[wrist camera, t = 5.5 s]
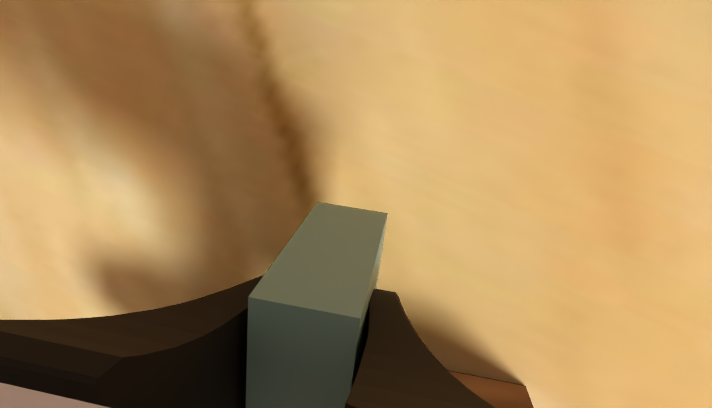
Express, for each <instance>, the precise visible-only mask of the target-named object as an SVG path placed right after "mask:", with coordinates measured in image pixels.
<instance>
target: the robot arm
mask: <svg viewBox="0 0 712 408" xmlns="http://www.w3.org/2000/svg"><path fill="white" fill-rule="evenodd" d="M263 276H264V275H263ZM263 276H260V277H258V278H255V279H253V280H250V281H247V282H245V283H242V284H239V285H237V286H234V287H232V288H229V289H226V290H223V291H220V292H217V293H214V294H211V295H208V296H205V297H202V298H199V299H196V300H192V301H189V302H185V303H181V304H177V305H172V306H168V307H164V308H159V309H154V310H147V311H141V312H134V313H128V314H121V315H114V316H104V317H93V318H79V319H61V320H0V408H246V370H247V328H248V297H249V295H250V294H251V292H252V291H253V290H254V288H255V287H256V286H257V284H258V283H259V281H260V280H261V279H262V277H263ZM345 408H495V407H494V406H492V405H491V404H489V403H488V402H486V401H485V400H483V399H482V398H480V397H479V396H478V395H476V394H475V393H474V392H472V391H471V390H470V389H468V388H467V387H466V386H465V385H464V384H462V383H461V382H460V381H459V380H458V379H457V378H455V377H454V376H453V375H452V374H451V373H450V372H449V371H448V370H447V369H446V368H445V367H444V366H443V365H442V364H441V363H440V362H439V361H438V360H437V359H436V358H435V357H434V356H433V355H432V353H431V352H430V351H429V350H428V349H427V348H426V346H425V345H424V343H423V342H422V341H421V339H420V338H419V336H418V335H417V333H416V331H415V330H414V328H413V326H412V325H411V323H410V321H409V319H408V317H407V316H406V314H405V311H404V309H403V307H402V305H401V302H400V299H399V297H398V295H397V294H396V292H390V291H385V290H379V289H374V290H373V292H372V295H371V298H370V302H369V309H368V315H367V322H366V329H365V336H364V342H363V349H362V356H361V363H360V367H359V370H358V373H357V376H356V378H355V381H354V384H353V387H352V389H351V391H350V394H349V396H348V399H347V401H346V403H345Z"/></svg>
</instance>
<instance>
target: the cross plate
mask: <svg viewBox="0 0 712 408" xmlns="http://www.w3.org/2000/svg"><path fill="white" fill-rule="evenodd" d="M386 220H387V213H383V212H376V211H370V210H364V209H358V208H352V207H346V206H339V205H333V204H327V203H321V202H317V203H316V205H315V206H314V207H313V209H312V210H311V211H310V213H309V214H308V216H307V217H306V218H305V220H304V221H303V222H302V224H301V225H300V227H299V228H298V229H297V231H296V232H295V233H294V235H293V236H292V238H291V239H290V240H289V242H288V243H287V244H286V246H285V247H284V249H283V250H282V251H281V253H280V254H279V255H278V257H277V258H276V260H275V261H274V262H273V264H272V265H271V266H270V268H269V269H268V270H267V272H266V273H265V275H264V276H263V277H262V279H261V280H260V281H259V283H258V284H257V286H256V287H255V288H254V290H253V291H252V292H251V294H250V295H249V297H248V328H247V370H246V408H345V403H346V401H347V399H348V396H349V394H350V391H351V389H352V387H353V384H354V381H355V378H356V376H357V373H358V370H359V367H360V363H361V356H362V349H363V342H364V336H365V329H366V322H367V315H368V309H369V302H370V298H371V295H372V292H373V290H374V289H376V288H377V281H378V274H379V267H380V261H381V254H382V247H383V240H384V233H385V227H386Z"/></svg>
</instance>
